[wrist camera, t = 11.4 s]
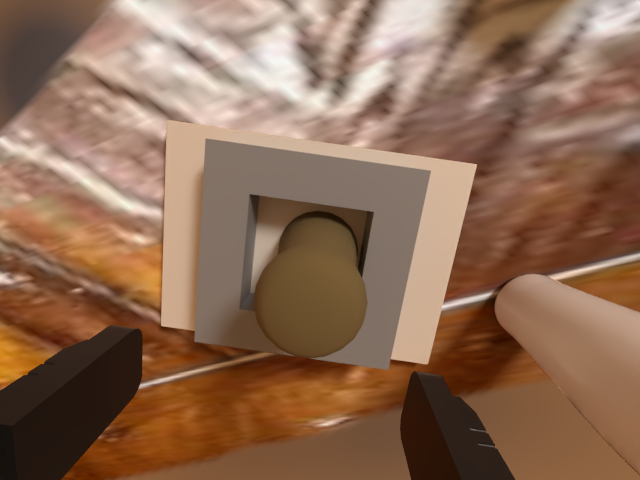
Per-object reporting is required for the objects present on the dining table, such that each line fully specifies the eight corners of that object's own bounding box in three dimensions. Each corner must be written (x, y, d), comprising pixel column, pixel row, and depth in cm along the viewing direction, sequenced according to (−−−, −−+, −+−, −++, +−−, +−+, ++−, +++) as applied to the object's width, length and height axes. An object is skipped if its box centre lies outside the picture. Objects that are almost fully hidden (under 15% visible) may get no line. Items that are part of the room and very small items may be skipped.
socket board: (469, 164, 23) (499, 163, 19) (423, 355, 26) (440, 389, 22) (175, 122, 23) (141, 111, 19) (168, 319, 26) (138, 346, 22)
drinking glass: (577, 323, 25) (918, 533, 11) (496, 351, 26) (708, 583, 11) (555, 249, 24) (908, 371, 9) (471, 281, 25) (674, 441, 10)
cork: (309, 302, 24) (293, 405, 14) (262, 241, 23) (204, 300, 13) (373, 259, 23) (411, 333, 13) (327, 194, 22) (324, 215, 12)
